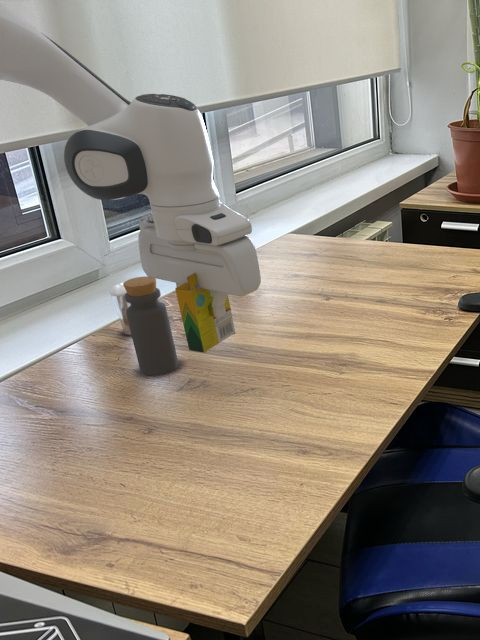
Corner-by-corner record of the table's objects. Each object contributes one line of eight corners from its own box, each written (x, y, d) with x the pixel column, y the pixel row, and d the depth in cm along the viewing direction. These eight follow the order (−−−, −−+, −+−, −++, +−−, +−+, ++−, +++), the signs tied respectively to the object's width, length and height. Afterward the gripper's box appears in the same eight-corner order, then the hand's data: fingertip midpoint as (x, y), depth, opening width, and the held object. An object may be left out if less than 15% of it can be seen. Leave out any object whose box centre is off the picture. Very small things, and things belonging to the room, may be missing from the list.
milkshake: (133, 339, 126) (120, 286, 121) (115, 333, 128) (101, 281, 124) (155, 330, 129) (143, 278, 125) (137, 324, 132) (125, 273, 127)
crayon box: (220, 330, 108) (207, 258, 103) (236, 333, 107) (223, 260, 102) (187, 350, 102) (171, 274, 97) (204, 353, 101) (188, 276, 96)
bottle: (184, 367, 115) (166, 280, 109) (149, 379, 112) (127, 290, 105) (169, 356, 119) (150, 272, 113) (134, 368, 115) (113, 281, 109)
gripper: (118, 217, 99) (140, 309, 105) (225, 235, 90) (242, 334, 96) (155, 207, 104) (174, 295, 110) (260, 222, 95) (274, 317, 101)
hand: (207, 313), depth 103 cm, fingers closed on crayon box, 3 cm apart
